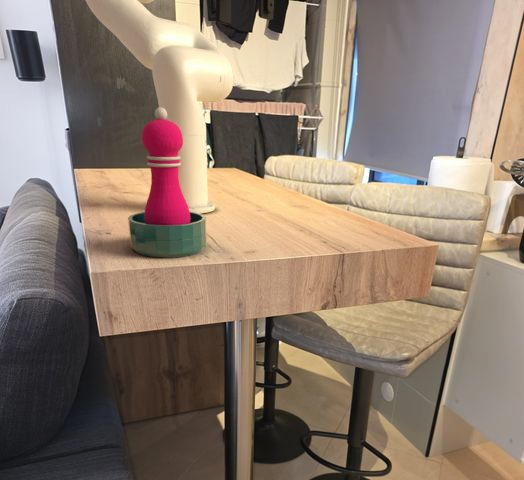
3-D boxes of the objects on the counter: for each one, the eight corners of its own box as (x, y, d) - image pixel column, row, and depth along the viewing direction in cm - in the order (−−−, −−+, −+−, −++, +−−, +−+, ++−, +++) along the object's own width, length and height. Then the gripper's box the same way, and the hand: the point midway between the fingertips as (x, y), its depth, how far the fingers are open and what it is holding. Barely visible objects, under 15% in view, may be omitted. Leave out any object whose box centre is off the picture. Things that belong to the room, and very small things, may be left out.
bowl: (127, 241, 78) (124, 211, 76) (197, 237, 82) (196, 208, 80) (136, 261, 68) (132, 227, 66) (214, 255, 72) (214, 223, 70)
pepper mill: (171, 236, 79) (163, 107, 70) (200, 244, 75) (196, 108, 66) (137, 244, 74) (124, 106, 65) (166, 252, 70) (156, 106, 61)
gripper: (305, -119, 68) (297, 20, 76) (222, -93, 78) (222, 28, 86) (274, -139, 63) (269, 12, 71) (189, -109, 73) (193, 22, 80)
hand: (244, 21), depth 78 cm, fingers open, 9 cm apart
